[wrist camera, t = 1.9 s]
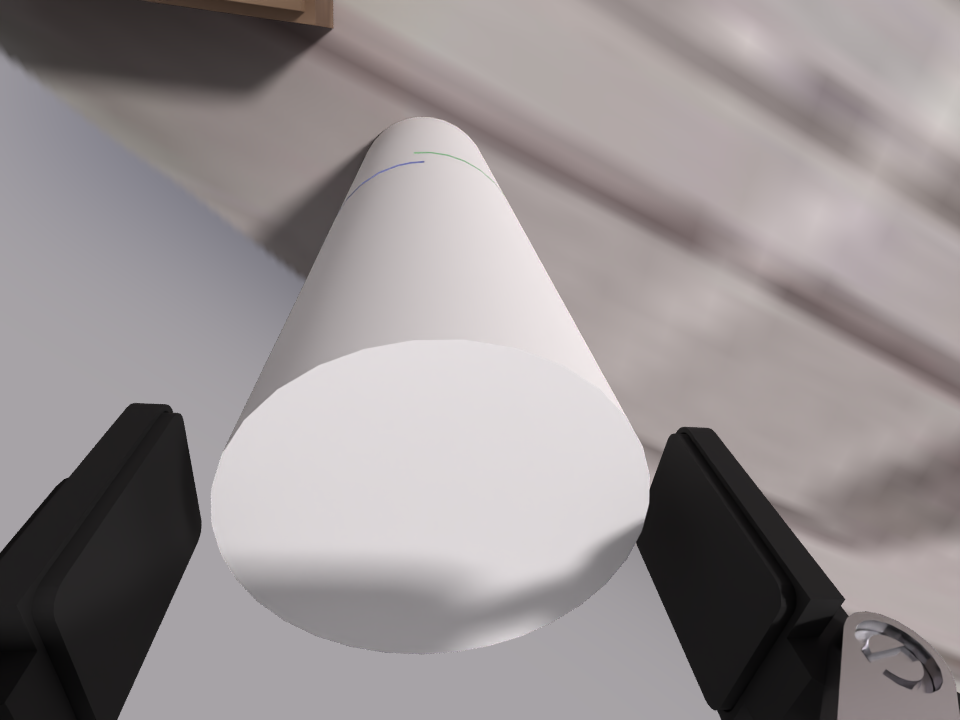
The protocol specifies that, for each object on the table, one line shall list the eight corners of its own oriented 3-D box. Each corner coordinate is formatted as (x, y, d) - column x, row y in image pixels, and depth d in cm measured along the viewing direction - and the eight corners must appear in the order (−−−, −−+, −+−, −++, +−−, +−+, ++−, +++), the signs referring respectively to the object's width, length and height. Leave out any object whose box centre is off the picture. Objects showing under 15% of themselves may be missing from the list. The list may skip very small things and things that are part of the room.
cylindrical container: (341, 137, 29) (111, 417, 7) (470, 100, 28) (628, 277, 7) (385, 260, 32) (319, 686, 11) (500, 228, 32) (663, 603, 11)
